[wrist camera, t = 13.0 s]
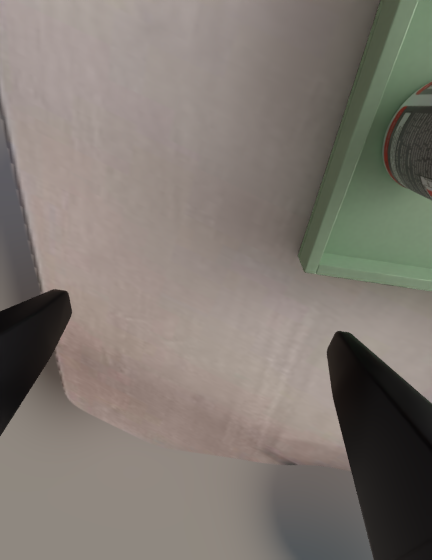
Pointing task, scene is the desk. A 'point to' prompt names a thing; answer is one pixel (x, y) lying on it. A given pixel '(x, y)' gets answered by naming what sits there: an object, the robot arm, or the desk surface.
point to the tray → (376, 165)
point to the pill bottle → (411, 143)
